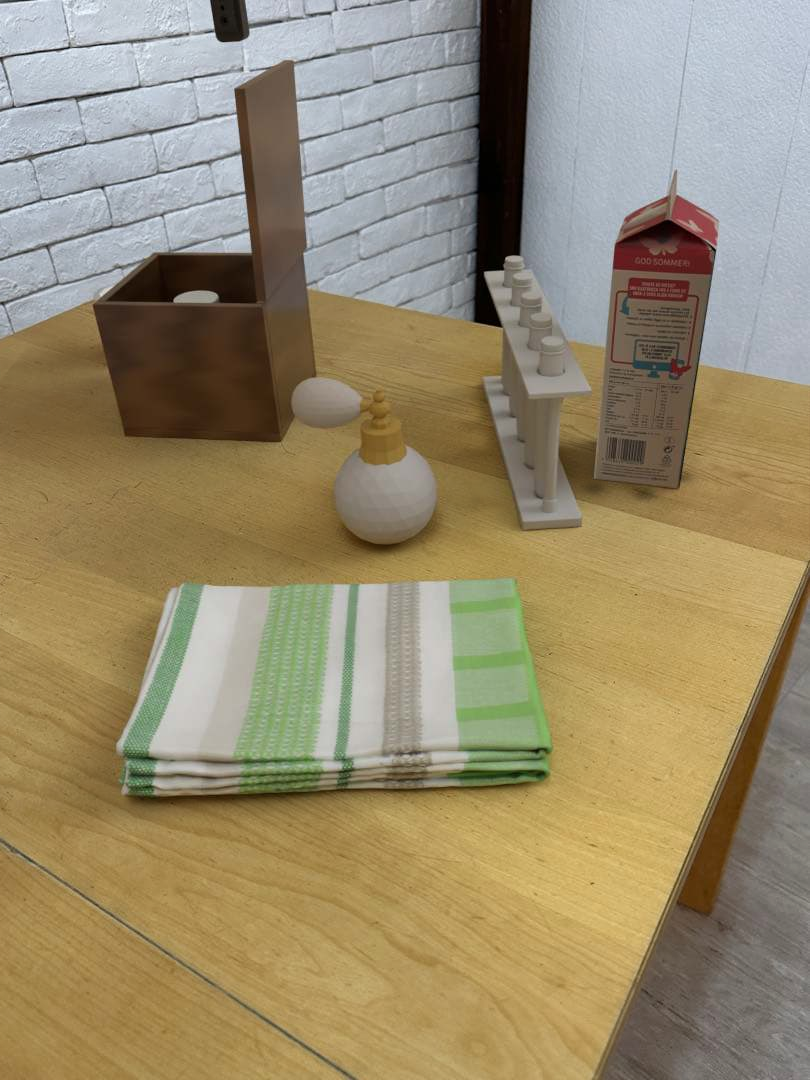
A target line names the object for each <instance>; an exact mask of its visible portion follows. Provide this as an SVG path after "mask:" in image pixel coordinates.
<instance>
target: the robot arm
mask: <svg viewBox="0 0 810 1080" xmlns="http://www.w3.org/2000/svg"><path fill="white" fill-rule="evenodd" d="M209 3H210V8H211V15H212V23H213V27H214V35H215V38H216V40H217V41H218V42H220V43H238V42H242V41H244V40H247V39H248V38H249V37H250V32H251V31H250V25H249V18H248V10H247V3H246V0H209Z"/></svg>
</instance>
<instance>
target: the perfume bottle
mask: <svg viewBox="0 0 810 1080" xmlns="http://www.w3.org/2000/svg"><path fill="white" fill-rule="evenodd" d="M291 405H292V410H293V413H294V415H295V416H294V417H295V418H296V419H297V420H298V421H299V422H301V423H302V424H304V425H305V426H307V427H311V428H314V429H323V430H324V429H332V428H333V429H334V428H338V427H342V426H345V425H348V424H350V423H352V422H354V421H356V420H357V419H359V417H360V416H361V415H362V414H364V413H366V412H368V411H369V413H370V414H371V415H372V417H369V418H366V419H365V420H363V421H362V422H361V423H360V439H361V444H360V446H359V448H357V449H355V450H354V451H353V452H352V453H351V454H350V455H348V456H347V458H345V460H344V461H343V463H342V464H341V465H340V467H339V469H338V471H337V474H336V477H335V479H334V486H333V500H334V505H335V509H336V513H337V514H338V516H339V518H340V520H341V522H342V523H343V524H344V526H345V527H346V528H347V529H348V531H350V533H353V534H354V535H355V536H356V537H358V538H359V539H361V540H364V541H366V542H369V543H372V544H376V545H394V544H399V543H403V542H405V541H408V540H410V539H411V538H414V537H415V536H417V535H418V534H419V533H420V532H421V531H422V530H423V529H424V528H425V527H426V526H427V525H428V523H429V522H430V520H431V519H432V518H433V517H432V516H433V515H434V511H435V510H436V507H437V500H438V485H437V482H436V477H435V473H434V472H433V470H432V467H431V466H430V464H429V462H428V461H427V460H426V459H425V457H424V456H422V454H420V453H419V452H418V451H416V450H415V449H414V448H412V447H411V446H409V445H406V444H405V442H404V440H403V428H402V427H403V425H402V421H400V420H399V419H398V418H397V417H394V416H389V415H390V414H391V410H392V407H391V404H390V403H389V401H386V394H385V393H384V392H382V388H381V387H377V388H376V389H375V392H374V393H373V395H372V402H370V403H369V402H367V401H365V400H364V399H363V397H362V396H361V395H360V394H359V393H358V392H357V391H356V390H355V389H354V388H352V387H351V386H349V385H348V384H346V383H343V382H341V381H338V380H336V379H332V378H329V377H320V376H319V377H318V376H316V378H309V379H307V380H305V381H302V382H301V383H300V384H299V385H297V386H296V388H295V390H294V391H293V394H292V399H291Z"/></svg>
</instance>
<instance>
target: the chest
mask: <svg viewBox="0 0 810 1080" xmlns="http://www.w3.org/2000/svg"><path fill="white" fill-rule="evenodd" d="M116 283H117V284H116V285H115V286H114V287H113V288H111V289H110V290H109V291H108V292H107V293H105V294H104V295H103V296H102V297H101V298H100V299H98V300H97V301H96V302H95V301H94V302H93V304H92V309H93V313H94V317H95V320H96V325H97V330H98V333H99V336H100V340H101V345H102V349H103V352H104V353H103V354H104V357H105V360H106V365H107V368H108V373H109V376H110V380H111V384H112V388H113V393H114V397H115V401H116V405H117V408H118V409H117V410H118V413H119V417H120V420H121V425H122V429H123V433H124V436H125V437H146V438H169V439H170V438H175V439H196V440H198V439H200V440H201V439H202V440H223V441H224V440H227V441H252V442H277V443H278V442H280V443H281V442H282V440H283V439H284V437H285V436H286V433H287V431H288V429H289V428H290V425H291V424H292V422H293V420H294V418H295V417H296V416H295V415H294V413H293V410H292V405H291V399H292V394H293V391H294V390H295V388H296V386H297V385H299V384H300V383H301V382H302V381H305V380H307V379H309V378H316V377H318V376H317V366H316V358H315V350H314V349H315V348H314V340H313V330H312V329H313V328H312V321H311V311H310V301H309V293H308V283H307V273H306V265H305V255H304V253H303V254H302V255H301V257H300V258H299V259H298V261H297V262H296V263H295V264H294V266H293V267H292V268H291V270H290V271H289V272H288V274H287V275H286V276H285V278H284V279H283V280H282V282H281V283H280V284H279V285H278V287H277V288H276V289H275V291H274V292H273V293H272V295H271V296H270V297H269V299H268V300H267V301H266V302H265V301H257V298H256V288H255V279H254V270H253V260H252V252H190V251H189V252H187V251H186V252H184V251H183V252H181V251H179V252H174V251H173V252H171V251H170V252H168V251H164V252H163V251H157V252H156V251H153V252H152V253H151V254H150V255H149V256H148V257H146V258H145V259H144V260H143V261H142V262H140V264H138V265H137V266H136V267H135V268H134V269H133V270H131V271H130V272H129V273H128V274H127V275H126V276H124V277H123V278H122V279H120V280H119V281H118V282H116ZM191 291H211V292H214V293H216V294H217V295H218V297H219V302H220V303H173V300H174V298H175V297H177V296H178V295H180V294H183V293H186V292H191Z"/></svg>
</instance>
